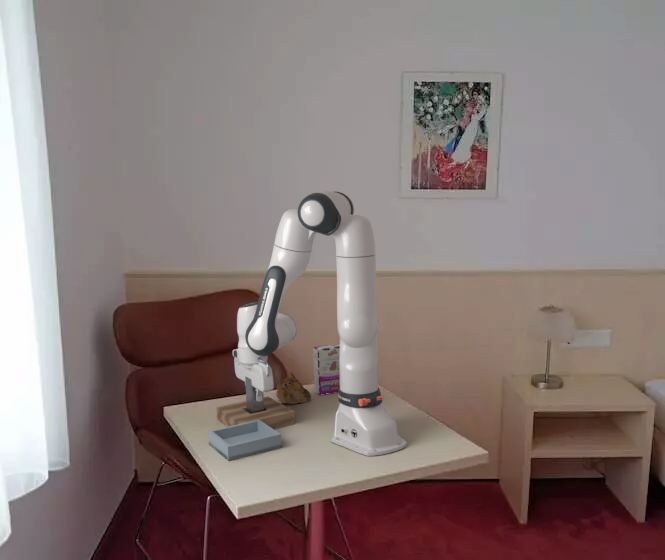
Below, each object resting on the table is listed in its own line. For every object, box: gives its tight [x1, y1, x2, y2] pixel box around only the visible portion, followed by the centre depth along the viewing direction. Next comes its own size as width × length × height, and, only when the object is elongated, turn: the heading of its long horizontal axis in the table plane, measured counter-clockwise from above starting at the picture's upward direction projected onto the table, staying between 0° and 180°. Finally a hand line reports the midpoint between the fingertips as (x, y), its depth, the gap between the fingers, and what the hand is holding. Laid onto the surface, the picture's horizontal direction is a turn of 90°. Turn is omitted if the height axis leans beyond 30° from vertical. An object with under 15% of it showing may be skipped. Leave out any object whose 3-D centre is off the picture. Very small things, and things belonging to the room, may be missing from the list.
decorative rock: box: [275, 372, 312, 405], centre depth 232 cm, size 12×6×11 cm, turn 118°
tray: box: [207, 420, 283, 462], centre depth 196 cm, size 14×16×4 cm
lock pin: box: [244, 376, 265, 414], centre depth 215 cm, size 4×4×14 cm
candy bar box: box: [312, 342, 340, 396], centre depth 243 cm, size 11×5×16 cm, turn 114°
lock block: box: [216, 396, 296, 430], centre depth 216 cm, size 18×18×4 cm
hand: (254, 398), depth 215 cm, fingers closed on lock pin, 4 cm apart
